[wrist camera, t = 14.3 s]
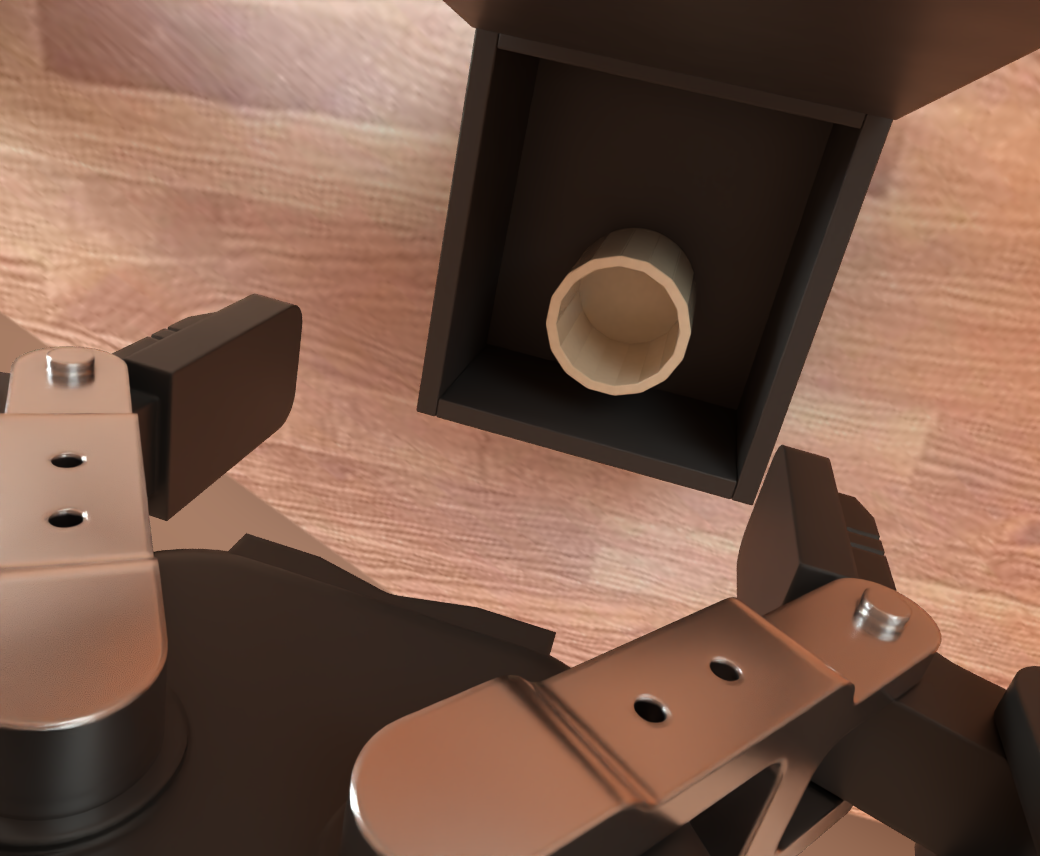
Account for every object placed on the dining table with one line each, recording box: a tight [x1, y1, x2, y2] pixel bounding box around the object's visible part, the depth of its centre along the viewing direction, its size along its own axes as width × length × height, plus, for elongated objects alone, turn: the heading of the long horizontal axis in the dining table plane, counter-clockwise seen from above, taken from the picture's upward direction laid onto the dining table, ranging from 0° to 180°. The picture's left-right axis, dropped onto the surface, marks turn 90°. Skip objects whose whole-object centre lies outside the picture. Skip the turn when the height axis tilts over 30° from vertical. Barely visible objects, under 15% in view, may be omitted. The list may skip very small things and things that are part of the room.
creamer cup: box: [546, 228, 697, 396], centre depth 38 cm, size 6×6×6 cm
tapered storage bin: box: [417, 28, 893, 505], centre depth 37 cm, size 16×15×9 cm
